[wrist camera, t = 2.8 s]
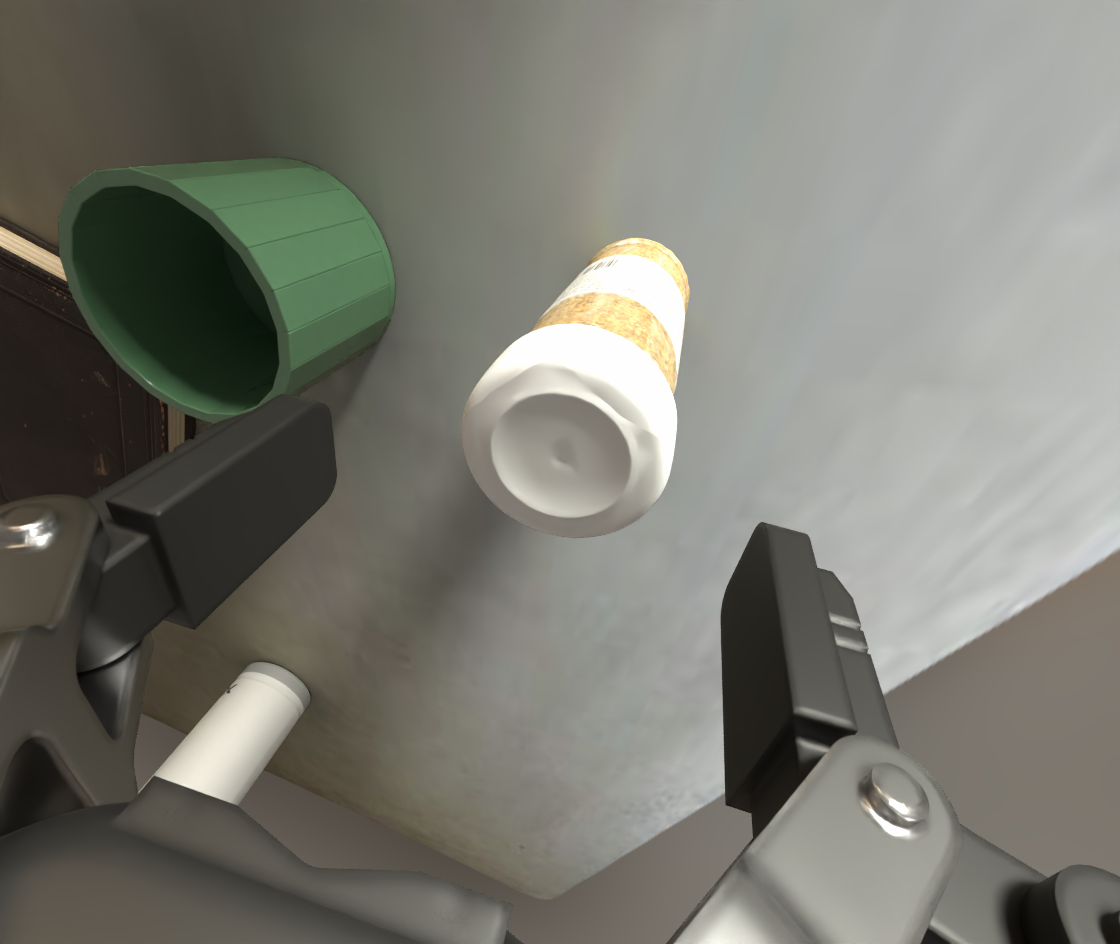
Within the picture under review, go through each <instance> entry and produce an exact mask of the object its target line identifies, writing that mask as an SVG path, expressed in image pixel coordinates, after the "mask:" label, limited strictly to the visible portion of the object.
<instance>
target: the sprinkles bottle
mask: <svg viewBox="0 0 1120 944" xmlns="http://www.w3.org/2000/svg"><path fill="white" fill-rule="evenodd" d="M688 299H689V286H688V283H687V276H686V273H685V271H684V269H683V266H682V264H681V263H680V261H679V260H678V259H677V258H676V256H675V255H674V254H673V253H672V251H670V250H668V249H667V248H665V247H664V246H662V245H661V244H659V243H657V242H654V241H651V240H648V239H641V238H628V239H624V240H622V241H617V242H614V243H613V244H611V245H608V246H606V247H604V248H603V249H602V250H600V251H599V252H598V253H597V254H596V255H595V256H594V257H593V258H592V259H591V261H590V262H589V263H588V265H587V267H586V268H585V269H584V270H583V271H582V272H581V273H580V274H579V275H578V276H577V277H576V279H575V280H574V281H573V282H572V283H571V284H570V285H569V286H568V287H567V288H566V289H565V290H564V291H563V292H562V294H561V295H560V296H559V297H558V298H557V299H556V300H555V302H554V303H553V304H552V305H551V306H550V307H549V308H548V310H547V311H546V312H545V313H544V314H543V315H542V316H541V318H540V319H539V320H538V322H537V324H536V325H535V327H534V329H533V330H532V331H531V333H529V334H527V335H524V336H523V337H521V338H520V339H518V340H517V341H515V342H514V343H513V344H511V345H510V346H509V347H508V348H507V349H506V350H505V351H504V352H503V353H502V354H501V355H500V356H499V357H498V358H497V360H496V361H495V362H494V363H493V364H492V365H491V367H490V368H489V369H488V370H487V371H486V373H485V374H484V375H483V377H482V378H481V379H480V381H479V382H478V383H477V385H476V386H475V388H474V389H473V391H472V393H471V395H470V397H469V399H468V402H467V404H466V407H465V410H464V415H463V421H462V444H463V450H464V454H465V458H466V461H467V464H468V466H469V469H470V471H471V473H472V475H473V477H474V479H475V480H476V482H477V484H478V485H479V487H480V488H481V489H482V491H483V492H484V493H485V494H486V496H487V497H488V498H489V499H490V500H491V501H492V502H493V503H494V504H495V505H496V506H497V507H498V508H499V509H501V510H502V511H503V512H504V513H506V514H507V515H508V516H510V517H512V518H513V519H515V520H516V521H518V522H520V523H522V524H524V525H526V526H528V527H530V528H533V529H535V530H537V531H541V532H544V533H547V534H551V535H556V536H561V537H569V538H585V537H595V536H601V535H606V534H609V533H612V532H615V531H618V530H620V529H622V528H624V527H626V526H628V525H630V524H632V523H633V522H635V521H637V520H638V519H639V518H640V517H642V516H643V515H644V514H645V513H646V512H647V511H648V510H649V509H650V508H651V507H652V506H653V505H654V504H655V502H656V501H657V500H658V498H659V497H660V495H661V493H662V492H663V490H664V488H665V485H666V483H667V481H668V477H669V474H670V470H671V465H672V461H673V455H674V447H675V439H676V432H677V411H676V406H675V401H674V398H673V393H674V391H675V388H676V383H677V376H678V369H679V361H680V354H681V347H682V340H683V331H684V321H685V313H686V310H687V304H688Z"/></svg>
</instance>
